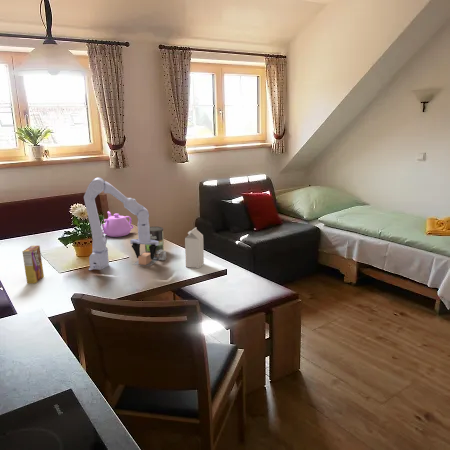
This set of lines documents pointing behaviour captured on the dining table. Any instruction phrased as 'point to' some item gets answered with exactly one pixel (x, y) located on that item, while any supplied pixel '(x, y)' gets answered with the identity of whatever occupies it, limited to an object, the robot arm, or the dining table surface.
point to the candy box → (33, 264)
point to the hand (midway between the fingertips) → (145, 258)
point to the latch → (161, 254)
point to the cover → (144, 258)
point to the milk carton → (194, 249)
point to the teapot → (117, 225)
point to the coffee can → (156, 238)
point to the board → (148, 263)
